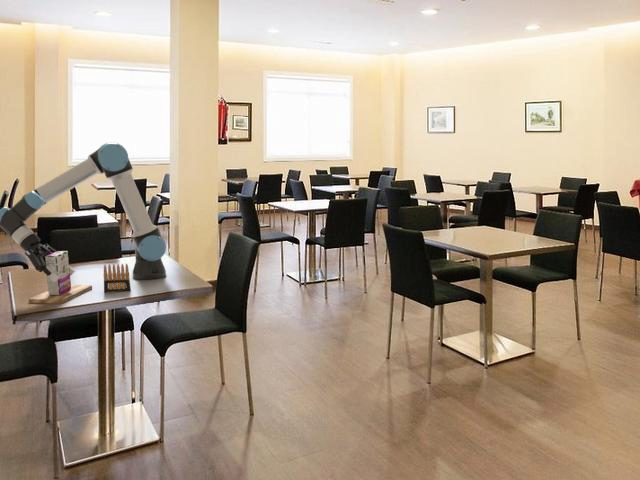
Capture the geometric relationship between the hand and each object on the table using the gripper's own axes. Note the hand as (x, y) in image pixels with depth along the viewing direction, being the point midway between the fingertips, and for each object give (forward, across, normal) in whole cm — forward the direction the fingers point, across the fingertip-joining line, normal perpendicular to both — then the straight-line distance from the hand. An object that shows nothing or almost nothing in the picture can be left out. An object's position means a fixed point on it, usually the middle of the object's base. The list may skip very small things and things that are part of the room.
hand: (65, 276), depth 250 cm
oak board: (+4, -1, -8) cm, 9 cm away
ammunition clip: (+18, -10, +6) cm, 22 cm away
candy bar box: (+3, 0, -7) cm, 7 cm away
